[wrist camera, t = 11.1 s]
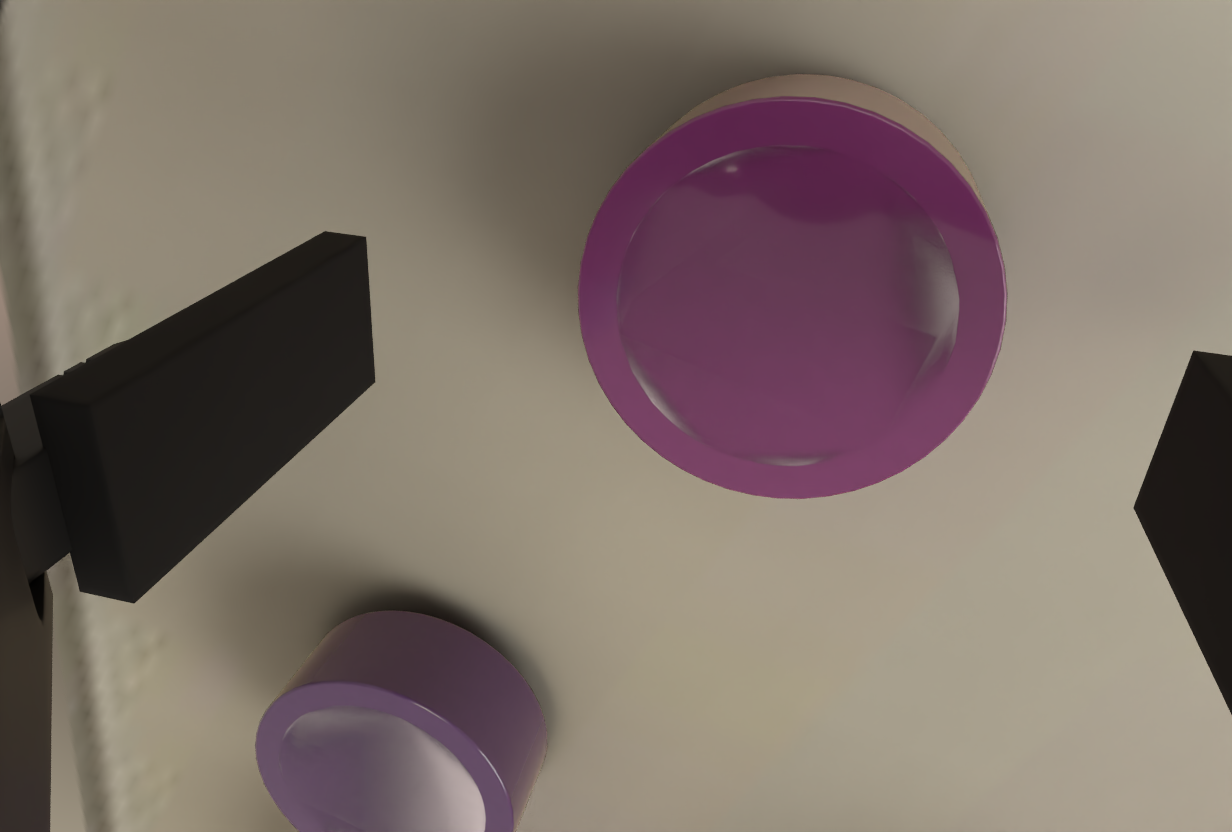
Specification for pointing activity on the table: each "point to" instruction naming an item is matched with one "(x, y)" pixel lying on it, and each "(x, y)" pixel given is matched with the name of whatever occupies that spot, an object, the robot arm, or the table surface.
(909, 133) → the dish
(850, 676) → the table surface
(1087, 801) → the table surface
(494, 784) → the dish middle
